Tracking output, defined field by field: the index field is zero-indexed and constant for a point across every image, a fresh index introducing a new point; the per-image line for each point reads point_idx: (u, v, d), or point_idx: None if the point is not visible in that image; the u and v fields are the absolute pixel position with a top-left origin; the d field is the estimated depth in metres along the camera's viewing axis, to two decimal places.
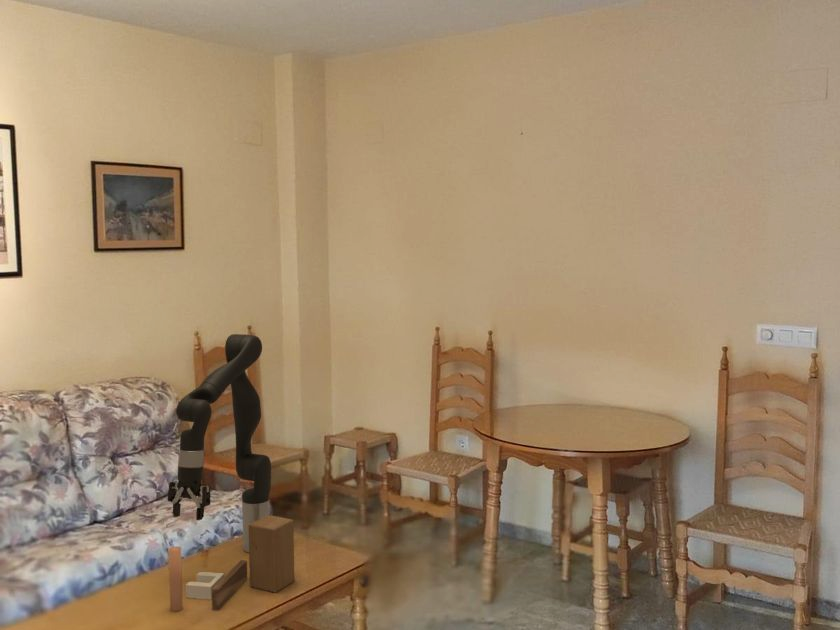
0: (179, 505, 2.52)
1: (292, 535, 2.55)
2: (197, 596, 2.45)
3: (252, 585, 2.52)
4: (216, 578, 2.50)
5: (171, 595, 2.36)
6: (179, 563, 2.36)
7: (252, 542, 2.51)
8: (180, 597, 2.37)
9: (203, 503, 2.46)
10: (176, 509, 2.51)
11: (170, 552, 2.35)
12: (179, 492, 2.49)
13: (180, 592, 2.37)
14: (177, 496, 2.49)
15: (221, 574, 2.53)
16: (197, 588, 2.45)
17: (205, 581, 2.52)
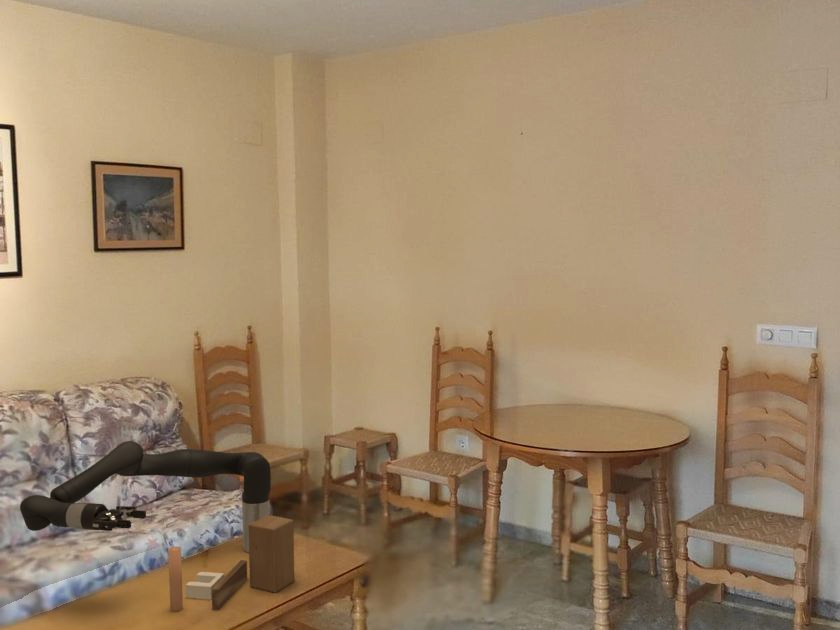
0: (134, 512, 2.42)
1: (292, 535, 2.55)
2: (197, 596, 2.45)
3: (252, 585, 2.52)
4: (216, 578, 2.50)
5: (171, 595, 2.36)
6: (179, 563, 2.36)
7: (252, 542, 2.51)
8: (180, 597, 2.37)
9: None
10: (137, 516, 2.42)
11: (170, 552, 2.35)
12: None
13: (180, 592, 2.37)
14: None
15: (221, 574, 2.53)
16: (197, 588, 2.45)
17: (205, 581, 2.52)
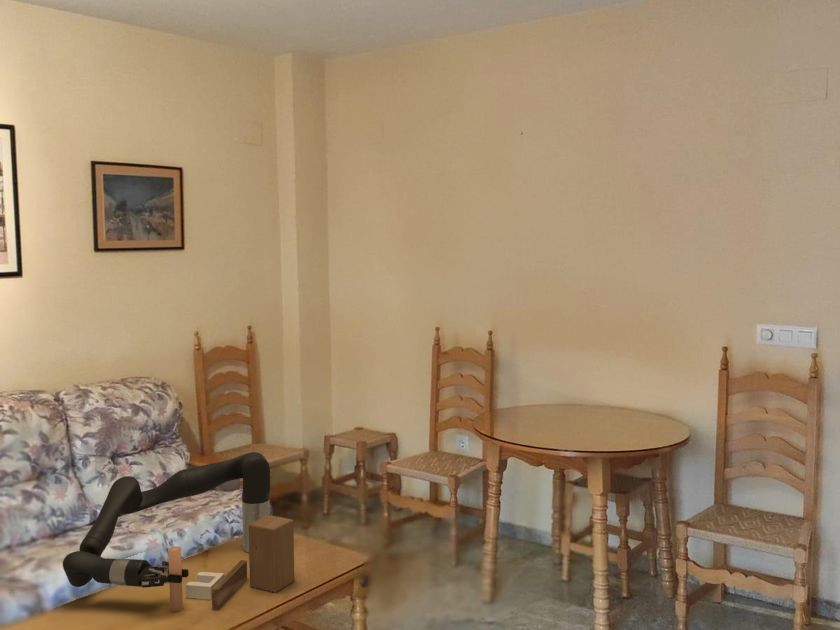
0: None
1: (292, 535, 2.55)
2: (197, 596, 2.45)
3: (252, 585, 2.52)
4: (216, 578, 2.50)
5: (171, 595, 2.36)
6: (179, 563, 2.36)
7: (252, 542, 2.51)
8: (180, 597, 2.37)
9: None
10: None
11: (170, 552, 2.35)
12: None
13: (180, 592, 2.37)
14: None
15: (221, 574, 2.53)
16: (197, 588, 2.45)
17: (205, 581, 2.52)
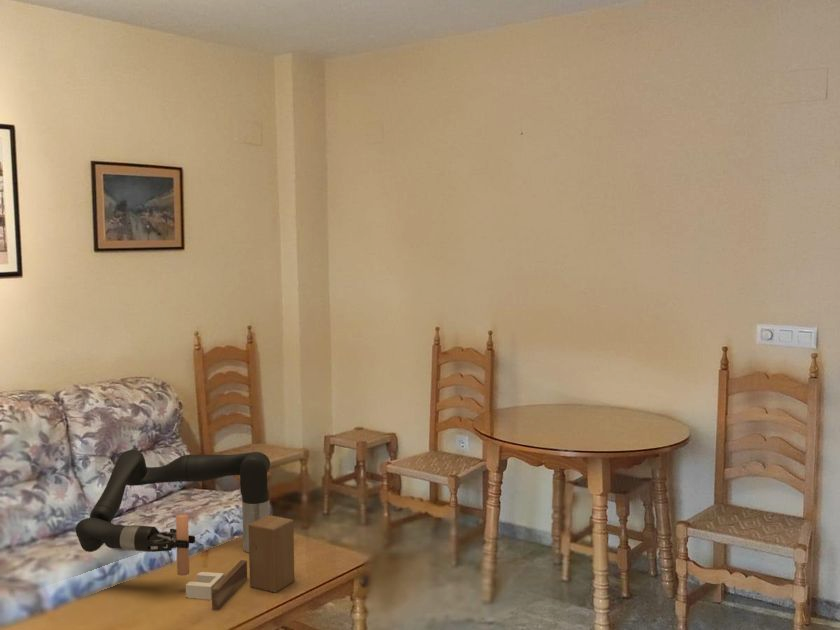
0: None
1: (292, 535, 2.55)
2: (197, 596, 2.45)
3: (252, 585, 2.52)
4: (216, 578, 2.50)
5: (178, 560, 2.48)
6: (186, 529, 2.48)
7: (252, 542, 2.51)
8: (187, 562, 2.49)
9: None
10: None
11: (178, 519, 2.47)
12: None
13: (187, 557, 2.49)
14: None
15: (221, 574, 2.53)
16: (197, 588, 2.45)
17: (205, 581, 2.52)
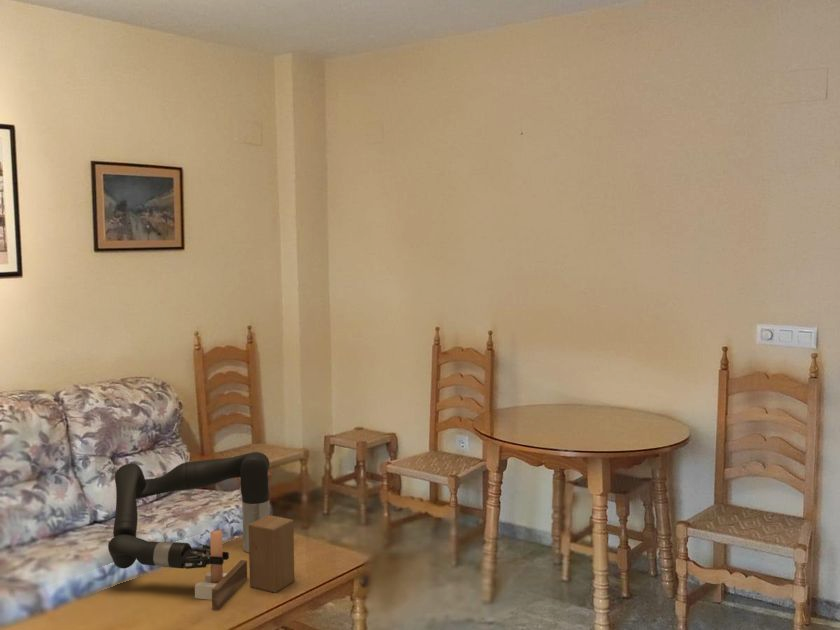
0: None
1: (292, 535, 2.55)
2: (206, 597, 2.44)
3: (252, 585, 2.52)
4: None
5: (212, 576, 2.47)
6: (220, 546, 2.47)
7: (252, 542, 2.51)
8: (220, 578, 2.48)
9: None
10: None
11: (212, 535, 2.46)
12: None
13: (221, 573, 2.48)
14: None
15: None
16: (206, 589, 2.44)
17: None
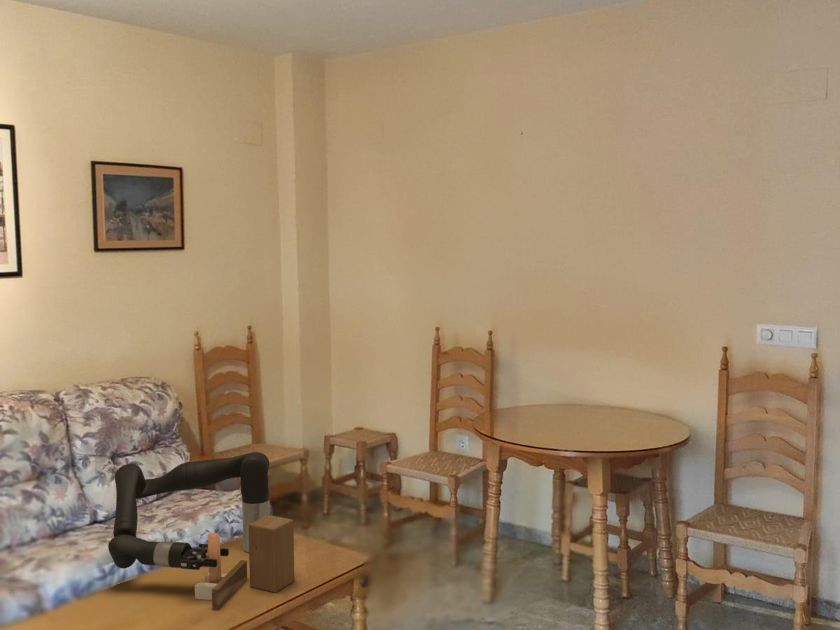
0: None
1: (292, 535, 2.55)
2: (206, 597, 2.44)
3: (252, 585, 2.52)
4: None
5: (211, 579, 2.47)
6: (218, 548, 2.47)
7: (252, 542, 2.51)
8: (219, 581, 2.48)
9: None
10: (221, 554, 2.52)
11: (209, 538, 2.46)
12: None
13: (219, 576, 2.48)
14: None
15: None
16: (206, 589, 2.44)
17: None
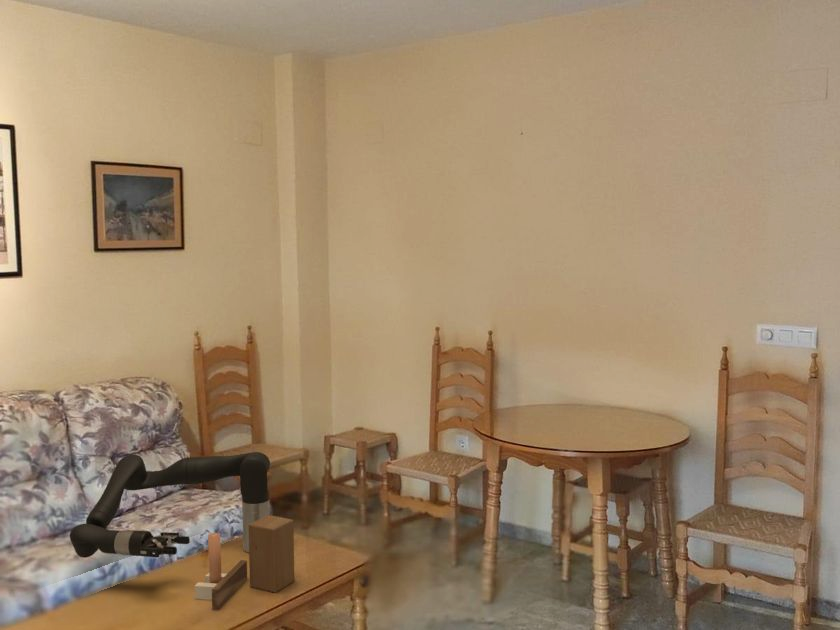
0: (178, 538, 2.54)
1: (292, 535, 2.55)
2: (206, 597, 2.44)
3: (252, 585, 2.52)
4: None
5: (211, 579, 2.47)
6: (218, 548, 2.47)
7: (252, 542, 2.51)
8: (219, 581, 2.48)
9: None
10: (181, 542, 2.54)
11: (210, 538, 2.46)
12: None
13: (219, 576, 2.48)
14: None
15: None
16: (206, 589, 2.44)
17: None
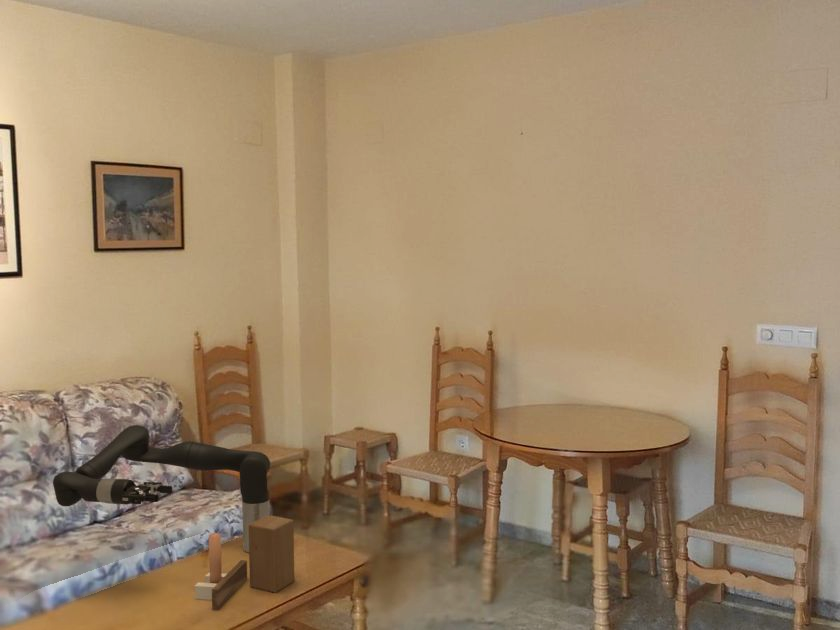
0: (161, 487, 2.53)
1: (292, 535, 2.55)
2: (206, 597, 2.44)
3: (252, 585, 2.52)
4: None
5: (211, 579, 2.47)
6: (219, 548, 2.47)
7: (252, 542, 2.51)
8: None
9: None
10: (164, 491, 2.53)
11: (211, 538, 2.46)
12: None
13: (220, 576, 2.48)
14: None
15: None
16: (206, 589, 2.44)
17: None
